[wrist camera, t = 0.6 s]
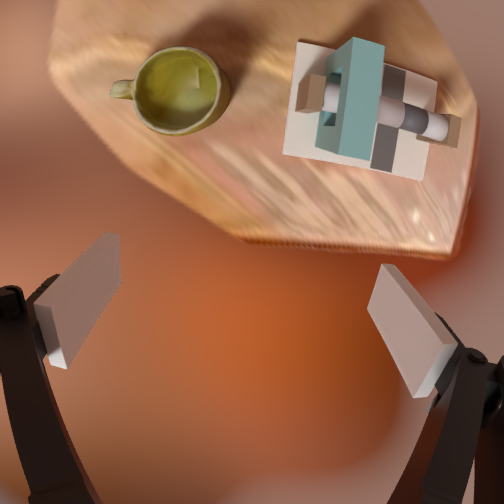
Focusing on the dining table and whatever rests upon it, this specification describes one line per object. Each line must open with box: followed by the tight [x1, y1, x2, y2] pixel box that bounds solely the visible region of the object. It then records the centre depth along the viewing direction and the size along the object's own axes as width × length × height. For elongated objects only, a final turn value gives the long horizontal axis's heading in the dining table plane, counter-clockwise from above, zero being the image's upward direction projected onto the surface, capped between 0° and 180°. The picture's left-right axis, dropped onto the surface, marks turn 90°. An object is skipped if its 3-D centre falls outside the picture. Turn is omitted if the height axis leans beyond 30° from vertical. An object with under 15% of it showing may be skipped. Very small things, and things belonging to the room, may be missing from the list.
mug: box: [110, 46, 230, 136], centre depth 30 cm, size 12×10×10 cm
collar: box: [315, 37, 385, 161], centre depth 29 cm, size 3×11×10 cm, turn 173°
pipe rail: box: [282, 42, 461, 182], centre depth 31 cm, size 19×14×8 cm
